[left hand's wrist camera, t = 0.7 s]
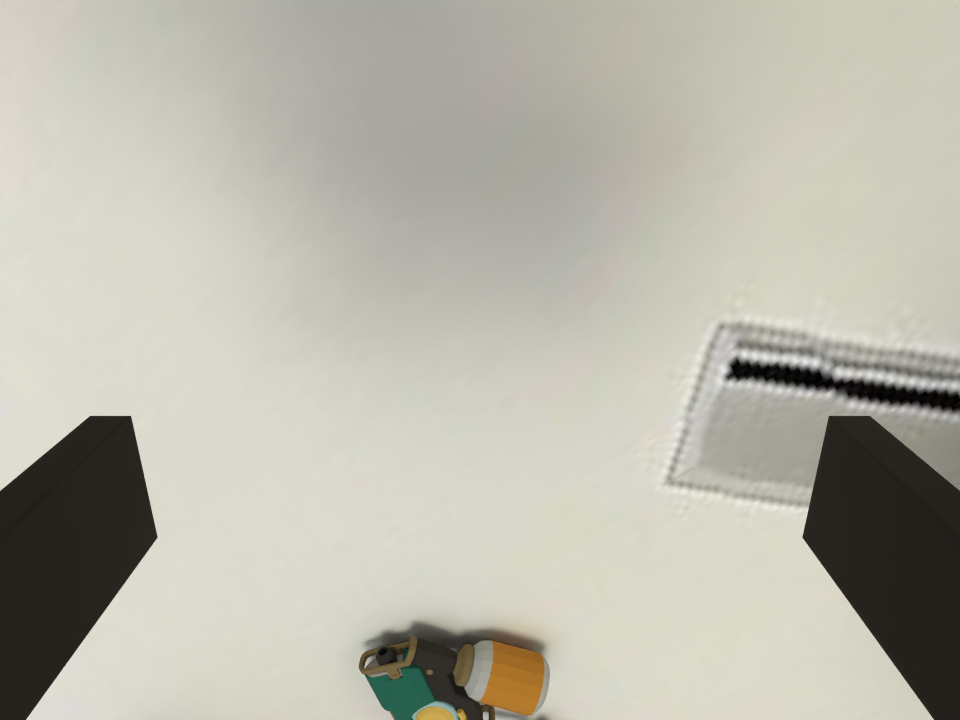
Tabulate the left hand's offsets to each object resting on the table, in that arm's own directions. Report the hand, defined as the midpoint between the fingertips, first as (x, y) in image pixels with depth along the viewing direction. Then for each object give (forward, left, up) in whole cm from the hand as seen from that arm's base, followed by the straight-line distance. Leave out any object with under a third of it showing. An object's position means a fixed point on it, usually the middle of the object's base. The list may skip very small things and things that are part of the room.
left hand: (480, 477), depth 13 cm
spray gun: (+37, +5, -28) cm, 47 cm away
